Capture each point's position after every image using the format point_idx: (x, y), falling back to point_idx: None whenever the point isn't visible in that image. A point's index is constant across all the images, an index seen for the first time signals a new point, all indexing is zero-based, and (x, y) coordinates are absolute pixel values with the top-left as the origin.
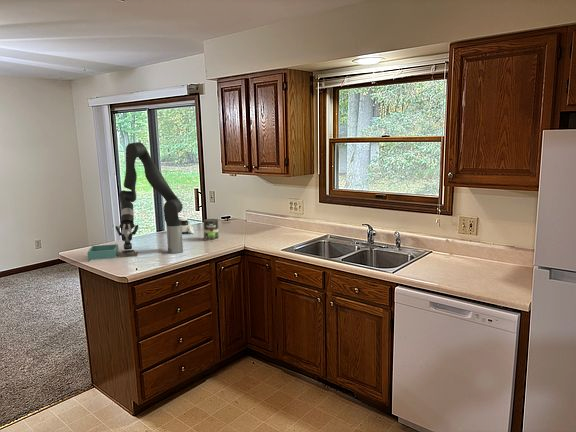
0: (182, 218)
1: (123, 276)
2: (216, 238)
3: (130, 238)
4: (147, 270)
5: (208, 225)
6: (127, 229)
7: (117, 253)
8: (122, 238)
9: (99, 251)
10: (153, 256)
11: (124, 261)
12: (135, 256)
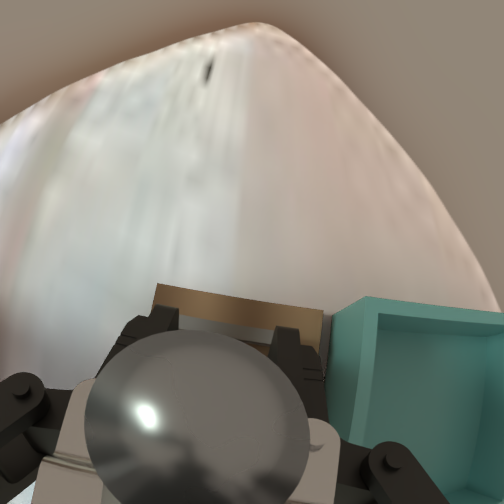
0: None
1: (273, 27)
2: None
3: (155, 306)
4: (170, 48)
5: None
6: (143, 410)
7: None
8: (302, 353)
9: (478, 311)
10: (48, 282)
11: (265, 235)
12: (168, 285)
